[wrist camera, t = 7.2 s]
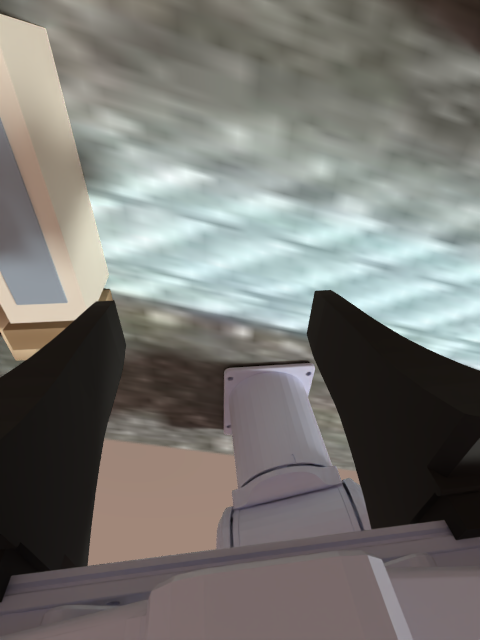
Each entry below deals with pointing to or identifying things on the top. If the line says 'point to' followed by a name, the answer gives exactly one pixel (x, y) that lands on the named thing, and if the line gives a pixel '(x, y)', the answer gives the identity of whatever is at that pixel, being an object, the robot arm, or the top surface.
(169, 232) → the top surface
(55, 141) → the cream block
